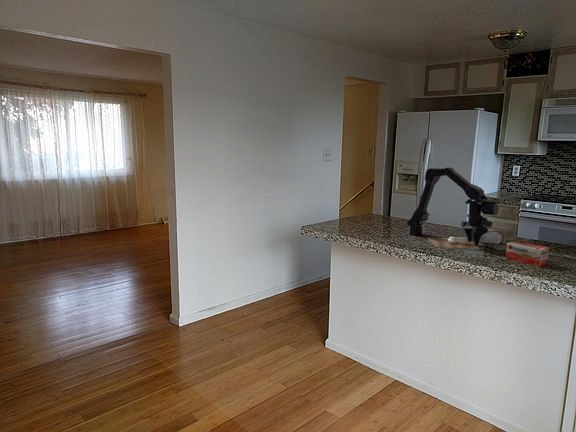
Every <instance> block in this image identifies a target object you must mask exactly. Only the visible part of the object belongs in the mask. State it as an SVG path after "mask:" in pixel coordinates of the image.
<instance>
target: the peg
mask: <svg viewBox="0 0 576 432" xmlns="http://www.w3.org/2000/svg"><path fill="white" fill-rule="evenodd" d="M447 238H448V242H449V243H457V241H468V239H467V237H466V236H465V237H463V236H461V237H459V236H457V237H456V236H449V237H447ZM471 242H472V243H474V241H473V238H472V240H471Z"/></svg>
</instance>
